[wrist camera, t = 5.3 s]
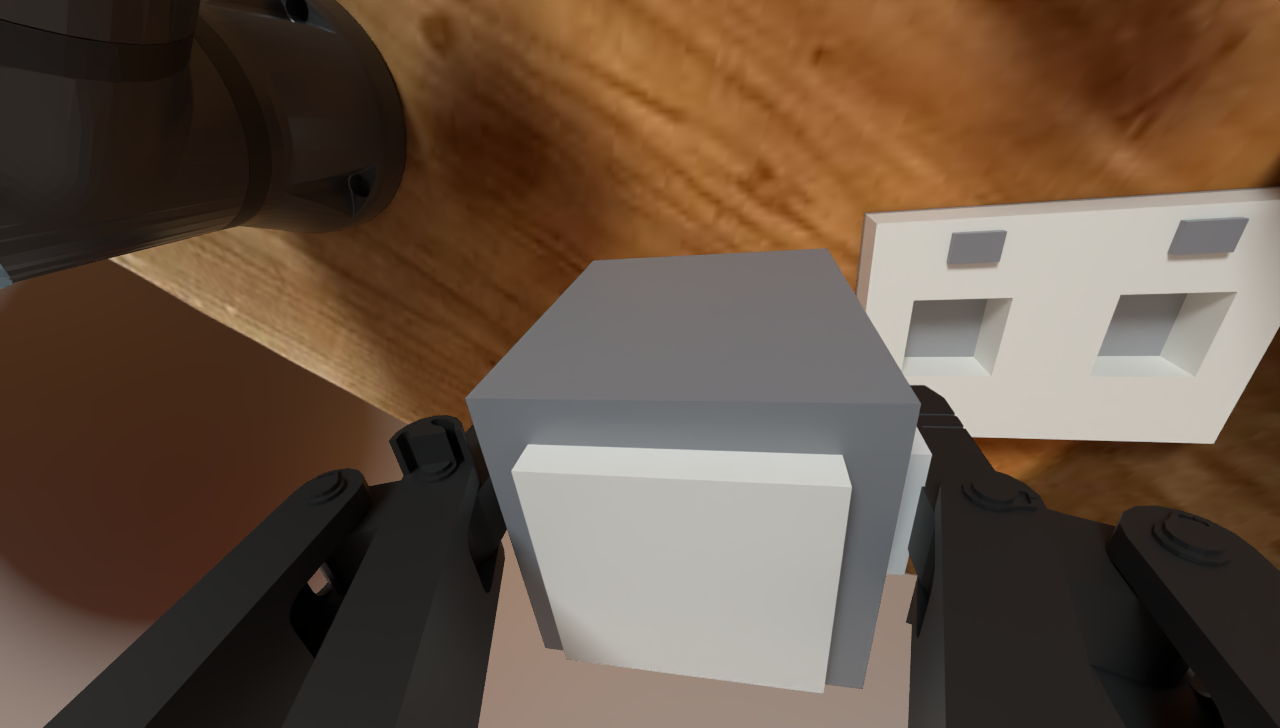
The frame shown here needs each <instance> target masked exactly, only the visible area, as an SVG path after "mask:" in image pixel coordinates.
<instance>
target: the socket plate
mask: <svg viewBox="0 0 1280 728" xmlns="http://www.w3.org/2000/svg"><path fill="white" fill-rule="evenodd" d="M855 295H856V297H857V299H858V300H859V302H860V304H861V305H862V307H863V309H864V310H865V312H866V313H867V315H868V317H869V318H870V320H871V322H872V323H873V325H874V327H875V328H876V330H877V332H878V333H879V335H880V337H881V338H882V340H883V342H884V343H885V345H886V347H887V348H888V350H889V352H890V353H891V355H892V357H893V358H894V360H895V362H896V363H897V365H898V367H899V368H900V370H901V372H902V373H903V375H904V377H905V378H906V380H907V381H908V383H909V385H925V386H927V387H929V388H930V389H932V390H933V391H935V392H936V393H938V394H939V395H941V396H942V397H944V398H945V400H946V401H947V402H948V404H949V405H950V407H951V408H952V410H953V411H954V413H955V416H957V417H958V418H959V420H960V421H961V423H962V424H963V428H964V429H966V430H967V431H968V433H969V434H970V436H971V437H989V438H1026V439H1062V440H1099V441H1135V442H1172V443H1209V444H1214V442H1215V440H1216V438H1217V437H1218V435H1219V433H1220V431H1221V430H1222V428H1223V426H1224V424H1225V422H1226V421H1227V419H1228V417H1229V415H1230V414H1231V412H1232V410H1233V408H1234V407H1235V405H1236V403H1237V401H1238V399H1239V398H1240V396H1241V394H1242V392H1243V391H1244V389H1245V387H1246V385H1247V383H1248V382H1249V380H1250V378H1251V376H1252V375H1253V373H1254V371H1255V369H1256V368H1257V366H1258V364H1259V362H1260V360H1261V359H1262V357H1263V355H1264V353H1265V352H1266V350H1267V348H1268V346H1269V344H1270V343H1271V341H1272V339H1273V337H1274V336H1275V334H1276V332H1277V330H1278V328H1279V327H1280V186H1278V187H1262V188H1247V189H1231V190H1216V191H1200V192H1184V193H1169V194H1153V195H1138V196H1122V197H1107V198H1091V199H1076V200H1060V201H1045V202H1029V203H1014V204H998V205H983V206H967V207H951V208H936V209H920V210H905V211H889V212H874V213H864V222H863V231H862V240H861V249H860V258H859V266H858V275H857V284H856V293H855Z"/></svg>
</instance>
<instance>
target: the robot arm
mask: <svg viewBox="0 0 1280 728" xmlns="http://www.w3.org/2000/svg"><path fill="white" fill-rule="evenodd" d="M405 156H406V135H405V126H404V119H403V114H402V109H401V105H400V101H399V98H398V95H397V92H396V89H395V86H394V83H393V81H392V78H391V76H390V74H389V72H388V69H387V67H386V65H385V63H384V61H383V59H382V58H381V56H380V54H379V52H378V51H377V49H376V47H375V46H374V44H373V43H372V41H371V40H370V38H369V37H368V35H367V34H366V33H365V31H364V30H363V29H362V27H361V26H360V25H359V24H358V22H357V21H356V20H355V19H354V18H353V17H352V16H351V15H350V14H349V12H348V11H347V10H346V9H344V8H343V7H342V6H341V5H340V4H339V3H338V2H337V1H336V0H0V289H2V288H5V287H8V286H11V285H12V283H14V282H18V281H22V280H26V279H29V278H33V277H37V276H41V275H45V274H49V273H53V272H57V271H61V270H65V269H69V268H72V267H77V266H81V265H85V264H88V263H93V262H96V261H101V260H105V259H108V258H112V257H116V256H120V255H124V254H128V253H132V252H136V251H140V250H144V249H148V248H152V247H156V246H160V245H164V244H168V243H172V242H176V241H180V240H183V239H187V238H191V237H195V236H199V235H203V234H207V233H211V232H215V231H219V230H223V229H228V228H232V227H237V226H244V227H254V228H264V229H274V230H284V231H294V232H304V233H327V232H334V231H339V230H342V229H345V228H349V227H352V226H355V225H359V224H362V223H364V222H366V221H369V220H370V219H372V218H374V217H375V216H376V215H378V214H379V213H380V212H381V211H382V210H384V208H385V207H386V206H387V205H388V204H389V202H390V201H391V200H392V198H393V196H394V195H395V193H396V191H397V189H398V186H399V184H400V181H401V178H402V174H403V170H404V164H405ZM910 386H911V388H912V390H913V391H914V393H915V395H916V396H917V398H918V400H919V401H920V403H921V407H920V412H919V417H918V421H917V426H916V431H915V436H914V441H913V446H912V451H911V456H910V460H909V465H908V470H907V475H906V480H905V485H904V490H903V495H902V499H901V504H900V509H899V514H898V519H897V524H896V529H895V534H894V538H893V543H892V548H891V553H890V558H889V563H888V568H887V573H886V574H895V575H904V574H905V570H906V565H907V561H908V557H909V554H910V557H911V559H912V562H913V564H914V567H915V570H916V572H917V575H918V577H917V581H916V585H915V589H914V593H913V597H912V601H911V604H910V609H909V612H908V617H907V621H906V622H907V623H909V624H912V637H911V638H912V640H911V665H910V692H909V720H908V728H1280V571H1279V570H1278V569H1276V568H1275V567H1274V566H1273V565H1272V564H1271V563H1270V562H1269V561H1268V560H1267V559H1266V558H1265V557H1264V556H1263V555H1262V554H1261V553H1259V552H1258V551H1257V550H1256V549H1255V548H1254V547H1252V546H1251V545H1250V544H1248V543H1247V542H1246V541H1244V540H1243V539H1242V538H1240V537H1239V536H1238V535H1236V534H1235V533H1233V532H1231V531H1229V530H1227V529H1225V528H1223V527H1221V526H1219V525H1217V524H1215V523H1213V522H1211V521H1210V520H1207V519H1204V518H1202V517H1199V516H1197V515H1193V514H1191V513H1187V512H1184V511H1181V510H1177V509H1171V508H1165V507H1160V506H1135V507H1133V508H1131V509H1128V510H1126V511H1124V512H1123V513H1122V515H1121V517H1120V519H1119V521H1118V523H1117V525H1116V526H1112V525H1108V524H1104V523H1100V522H1096V521H1092V520H1087V519H1083V518H1079V517H1075V516H1071V515H1067V514H1063V513H1060V512H1057V511H1053V510H1050V509H1047V507H1046V506H1045V504H1044V502H1043V501H1042V499H1041V497H1040V496H1039V495H1038V494H1037V493H1036V492H1035V491H1033V490H1032V489H1031V488H1030V487H1029V486H1027V485H1026V484H1025V483H1023V482H1021V481H1019V480H1017V479H1015V478H1013V477H1011V476H1009V475H1007V474H1003V473H1000V472H997V471H995V470H994V469H993V467H992V466H991V464H990V463H989V461H988V460H987V459H986V457H985V456H984V454H983V453H982V451H981V450H980V449H979V447H978V446H977V444H976V443H975V441H974V440H973V438H972V437H971V436H970V434H969V433H968V431H967V430H966V429H964V428H963V424H962V423H961V421H960V420H959V418H958V417H957V416H955V413H954V411H953V410H952V408H951V407H950V405H949V404H948V402H947V401H946V400H945V398H944V397H942V396H941V395H939V394H938V393H936V392H935V391H933V390H932V389H930V388H929V387H927V386H925V385H910ZM389 442H390V444H391V447H392V449H393V452H394V454H395V456H396V459H397V461H398V463H399V466H400V468H401V470H402V473H403V475H404V476H403V478H402V480H401V481H395V482H390V483H384V484H379V485H374V486H368V484H367V482H366V480H365V478H364V476H363V474H362V473H361V472H360V471H358V470H355V469H349V468H347V469H339V470H334V471H329V472H328V473H323V474H321V475H318V476H317V477H316V478H314V479H312V480H310V481H308V482H306V483H305V484H304V485H302V486H301V487H300V488H298V489H297V490H296V491H295V492H293V493H292V494H291V495H290V496H289V497H288V498H287V499H286V500H285V501H284V502H283V503H282V504H281V505H280V506H279V507H277V509H275V510H274V511H273V512H272V513H271V514H270V515H269V516H268V517H267V518H266V519H265V520H264V521H263V522H262V523H260V525H258V526H257V527H256V528H255V529H254V530H253V531H252V532H251V533H250V534H249V535H248V536H247V537H245V539H243V540H242V541H241V542H240V543H239V544H238V545H237V546H236V547H235V548H234V549H233V550H232V551H231V552H230V553H228V554H227V555H226V556H225V557H224V558H223V559H222V560H221V561H220V562H219V563H218V564H217V565H216V566H215V567H214V568H213V569H212V570H210V571H209V572H208V573H207V574H206V575H205V576H204V577H203V578H202V579H201V580H200V581H199V582H198V583H197V584H196V585H194V586H193V587H192V588H191V589H190V590H189V591H188V592H187V593H186V594H185V595H184V596H183V597H182V598H181V599H179V601H177V602H176V603H175V604H174V605H173V606H172V607H171V608H170V609H169V610H168V611H167V612H166V613H165V614H164V615H162V616H161V617H160V618H159V619H158V620H157V621H156V622H155V623H154V624H153V625H152V626H151V627H150V628H149V629H148V630H146V631H145V632H144V633H143V634H142V635H141V636H140V637H139V638H138V639H137V640H136V641H135V642H134V643H133V644H132V645H130V647H128V648H127V650H125V651H124V652H123V653H122V654H121V655H120V656H119V657H118V658H117V659H116V660H115V661H114V662H112V663H111V664H110V665H109V666H108V667H107V668H106V669H105V670H104V671H103V672H102V673H101V674H100V675H99V676H97V678H95V679H94V680H93V681H92V682H91V683H90V684H89V685H88V686H87V687H86V688H85V689H84V690H83V691H82V692H80V693H79V694H78V695H77V696H76V697H75V698H74V699H73V700H72V701H71V702H70V703H69V704H68V705H67V706H66V707H64V708H63V709H62V710H61V711H60V712H59V713H58V714H57V715H56V716H55V717H54V718H53V719H52V720H51V721H50V722H48V724H46V725H45V726H44V727H43V728H478V723H479V717H480V711H481V705H482V698H483V692H484V686H485V679H486V673H487V667H488V661H489V654H490V648H491V642H492V636H493V629H494V623H495V617H496V611H497V604H498V598H499V592H500V585H501V580H502V573H503V567H504V561H505V555H504V548H503V545H502V542H501V539H502V538H503V536H504V534H505V532H506V530H507V527H506V524H505V521H504V518H503V515H502V512H501V509H500V505H499V502H498V499H497V496H496V493H495V490H494V487H493V484H492V481H491V477H490V474H489V471H488V468H487V465H486V462H485V459H484V456H483V453H482V450H481V446H480V443H479V440H478V437H477V434H476V431H475V428H474V425H472V426H471V427H470V428H469V430H468V431H467V432H466V433H465V432H464V429H463V426H462V423H461V422H460V421H459V420H458V419H457V418H456V417H452V416H448V415H442V416H432V417H428V418H424V419H420V420H418V421H416V422H413V423H411V424H409V425H407V426H405V427H404V428H402V429H401V430H399V431H398V432H397V433H395V435H394V436H393V437H392V438H391V439H390V440H389ZM318 568H320V570H321V571H322V573H323V575H324V576H325V578H326V579H327V581H328V583H327V584H326V585H325V586H324V588H322V589H321V590H320V591H319V592H318V593H317V594H315V593H314V592H313V591H312V589H311V588H310V586H309V585H308V583H307V582H308V581H309V579H310V578H311V577H312V576H313V575H314V574H315V572H316V571H317V570H318Z"/></svg>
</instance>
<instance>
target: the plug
mask: <svg viewBox="0 0 1280 728" xmlns="http://www.w3.org/2000/svg"><path fill="white" fill-rule="evenodd" d="M465 400H466V403H467V406H468V409H469V412H470V415H471V418H472V422H473V425H474V428H475V431H476V434H477V437H478V440H479V443H480V446H481V450H482V453H483V456H484V459H485V462H486V465H487V468H488V471H489V474H490V477H491V481H492V484H493V487H494V490H495V493H496V496H497V499H498V502H499V505H500V509H501V512H502V515H503V518H504V521H505V524H506V527H507V530H508V533H509V536H510V540H511V543H512V546H513V549H514V551H515V555H516V558H517V561H518V564H519V567H520V571H521V574H522V577H523V580H524V583H525V586H526V589H527V592H528V595H529V598H530V602H531V605H532V608H533V611H534V614H535V617H536V620H537V623H538V626H539V630H540V633H541V636H542V639H543V642H544V645H545V648H549V649H557V650H564V653H565V656H566V659H567V660H574V661H582V662H589V663H596V664H604V665H612V666H619V667H626V668H634V669H642V670H650V671H656V672H664V673H672V674H679V675H686V676H694V677H701V678H710V679H717V680H724V681H731V682H739V683H746V684H754V685H761V686H769V687H777V688H784V689H792V690H798V691H807V692H814V693H822V694H823V693H824V686H825V684H827V685H835V686H843V687H851V688H858V689H863V685H864V680H865V675H866V670H867V665H868V660H869V655H870V651H871V645H872V641H873V636H874V631H875V625H876V621H877V616H878V612H879V607H880V602H881V597H882V592H883V587H884V582H885V577H886V573H887V568H888V563H889V558H890V553H891V548H892V543H893V538H894V534H895V529H896V524H897V519H898V514H899V509H900V504H901V499H902V495H903V490H904V485H905V480H906V475H907V470H908V465H909V460H910V456H911V451H912V446H913V441H914V436H915V431H916V426H917V421H918V417H919V412H920V407H921V403H920V401H919V400H918V398H917V396H916V395H915V393H914V391H913V390H912V388H911V386H910V385H909V383H908V381H907V380H906V378H905V377H904V375H903V373H902V372H901V370H900V368H899V367H898V365H897V363H896V362H895V360H894V358H893V357H892V355H891V353H890V352H889V350H888V348H887V347H886V345H885V343H884V342H883V340H882V338H881V337H880V335H879V333H878V332H877V330H876V328H875V327H874V325H873V323H872V322H871V320H870V318H869V317H868V315H867V313H866V312H865V310H864V309H863V307H862V305H861V304H860V302H859V300H858V299H857V297H856V295H855V294H854V292H853V290H852V289H851V287H850V285H849V284H848V282H847V280H846V279H845V277H844V275H843V274H842V272H841V270H840V269H839V267H838V265H837V264H836V262H835V260H834V259H833V257H832V255H831V254H830V252H829V250H828V249H827V248H826V249H807V250H787V251H768V252H748V253H729V254H709V255H690V256H670V257H651V258H632V259H612V260H594V261H593V262H592V263H591V264H590V265H589V266H588V267H587V268H586V269H585V270H584V271H583V272H582V273H581V274H580V276H579V277H578V278H577V279H576V280H575V281H574V282H573V283H572V284H571V285H570V286H569V287H568V288H567V289H566V291H565V292H564V293H563V294H562V295H561V296H560V297H559V298H558V299H557V300H556V301H555V302H554V303H553V304H552V306H551V307H550V308H549V309H548V310H547V311H546V312H545V313H544V314H543V315H542V316H541V317H540V318H539V319H538V321H537V322H536V323H535V324H534V325H533V326H532V327H531V328H530V329H529V330H528V331H527V332H526V333H525V334H524V336H523V337H522V338H521V339H520V340H519V341H518V342H517V343H516V344H515V345H514V346H513V347H512V348H511V349H510V351H509V352H508V353H507V354H506V355H505V356H504V357H503V358H502V359H501V360H500V361H499V362H498V363H497V364H496V366H495V367H494V368H493V369H492V370H491V371H490V372H489V373H488V374H487V375H486V376H485V377H484V378H483V379H482V381H481V382H480V383H479V384H478V385H477V386H476V387H475V388H474V389H473V390H472V391H471V392H470V393H469V394H468V396H467V397H466V398H465Z"/></svg>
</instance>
